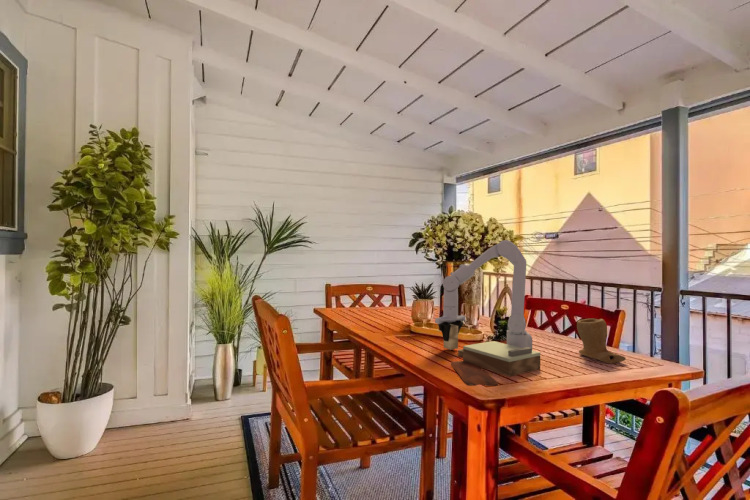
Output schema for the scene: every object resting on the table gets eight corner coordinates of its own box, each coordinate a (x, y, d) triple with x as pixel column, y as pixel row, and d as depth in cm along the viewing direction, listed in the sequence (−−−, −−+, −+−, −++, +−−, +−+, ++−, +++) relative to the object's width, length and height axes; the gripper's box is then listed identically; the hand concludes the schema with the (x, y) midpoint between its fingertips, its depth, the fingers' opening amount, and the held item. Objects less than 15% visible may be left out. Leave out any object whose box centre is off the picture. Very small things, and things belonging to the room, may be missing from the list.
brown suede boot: (569, 354, 158) (570, 315, 158) (597, 353, 159) (598, 315, 159) (596, 365, 143) (596, 322, 143) (626, 364, 144) (627, 322, 144)
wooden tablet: (500, 388, 120) (500, 382, 120) (466, 387, 119) (466, 382, 119) (475, 362, 146) (475, 358, 146) (447, 362, 146) (447, 357, 146)
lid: (493, 343, 154) (493, 336, 154) (540, 355, 137) (540, 347, 137) (463, 348, 145) (463, 341, 145) (509, 362, 128) (509, 353, 128)
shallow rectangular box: (478, 351, 160) (478, 340, 160) (540, 369, 137) (540, 355, 137) (448, 357, 151) (449, 344, 151) (509, 376, 128) (509, 362, 128)
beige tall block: (450, 346, 165) (451, 324, 165) (457, 348, 161) (458, 325, 161) (443, 347, 162) (443, 325, 162) (450, 349, 159) (450, 326, 159)
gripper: (456, 303, 169) (456, 336, 169) (430, 306, 161) (429, 340, 161) (469, 305, 163) (468, 339, 163) (442, 308, 156) (441, 343, 155)
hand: (450, 340), depth 162 cm, fingers closed on beige tall block, 4 cm apart
